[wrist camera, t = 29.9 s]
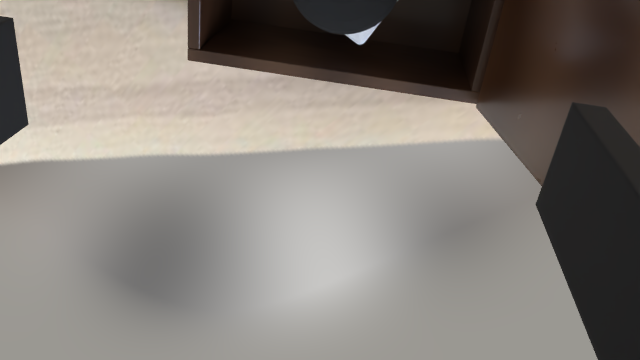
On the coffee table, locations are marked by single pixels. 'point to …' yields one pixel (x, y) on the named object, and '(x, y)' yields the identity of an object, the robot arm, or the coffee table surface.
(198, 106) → the coffee table surface
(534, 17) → the chest lid
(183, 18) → the coffee table surface
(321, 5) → the medicine bottle
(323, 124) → the coffee table surface
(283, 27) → the chest
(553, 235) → the robot arm
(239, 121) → the coffee table surface
